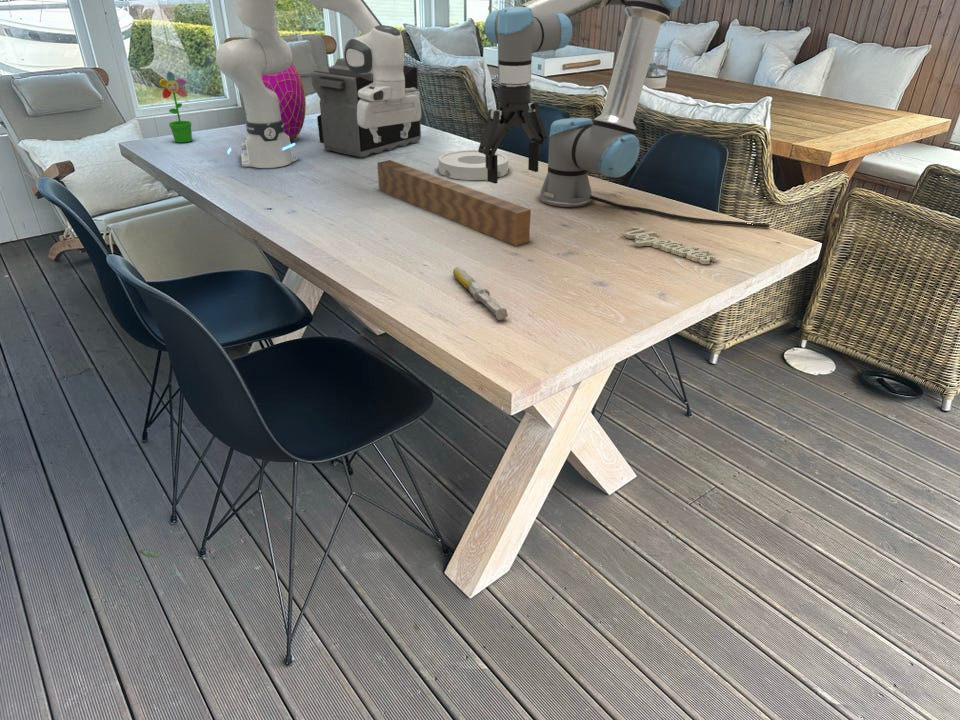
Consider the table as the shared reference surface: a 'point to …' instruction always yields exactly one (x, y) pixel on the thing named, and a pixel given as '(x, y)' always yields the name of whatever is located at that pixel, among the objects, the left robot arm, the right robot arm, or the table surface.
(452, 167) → the ashtray
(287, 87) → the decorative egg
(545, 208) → the table surface
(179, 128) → the potted flower
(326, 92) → the cooler box
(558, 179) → the right robot arm
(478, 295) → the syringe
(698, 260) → the decorative sign
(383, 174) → the post
